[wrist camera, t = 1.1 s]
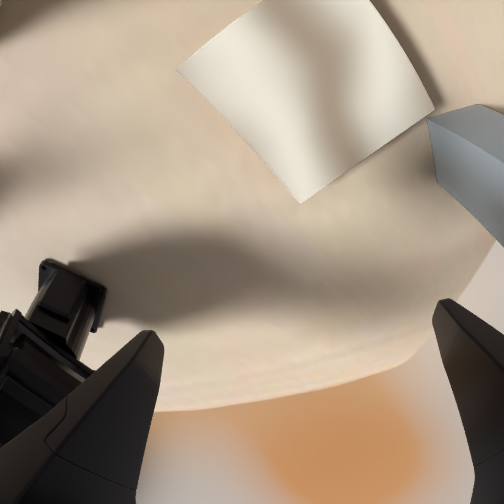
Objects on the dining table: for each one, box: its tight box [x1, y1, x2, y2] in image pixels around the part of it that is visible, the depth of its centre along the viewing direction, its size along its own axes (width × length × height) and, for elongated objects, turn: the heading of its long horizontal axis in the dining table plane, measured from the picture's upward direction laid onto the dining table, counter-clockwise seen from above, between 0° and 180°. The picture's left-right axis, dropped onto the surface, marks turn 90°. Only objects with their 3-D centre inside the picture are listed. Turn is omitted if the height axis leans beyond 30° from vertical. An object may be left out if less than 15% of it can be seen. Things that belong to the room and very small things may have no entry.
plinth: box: [176, 0, 435, 204], centre depth 15 cm, size 10×10×2 cm
